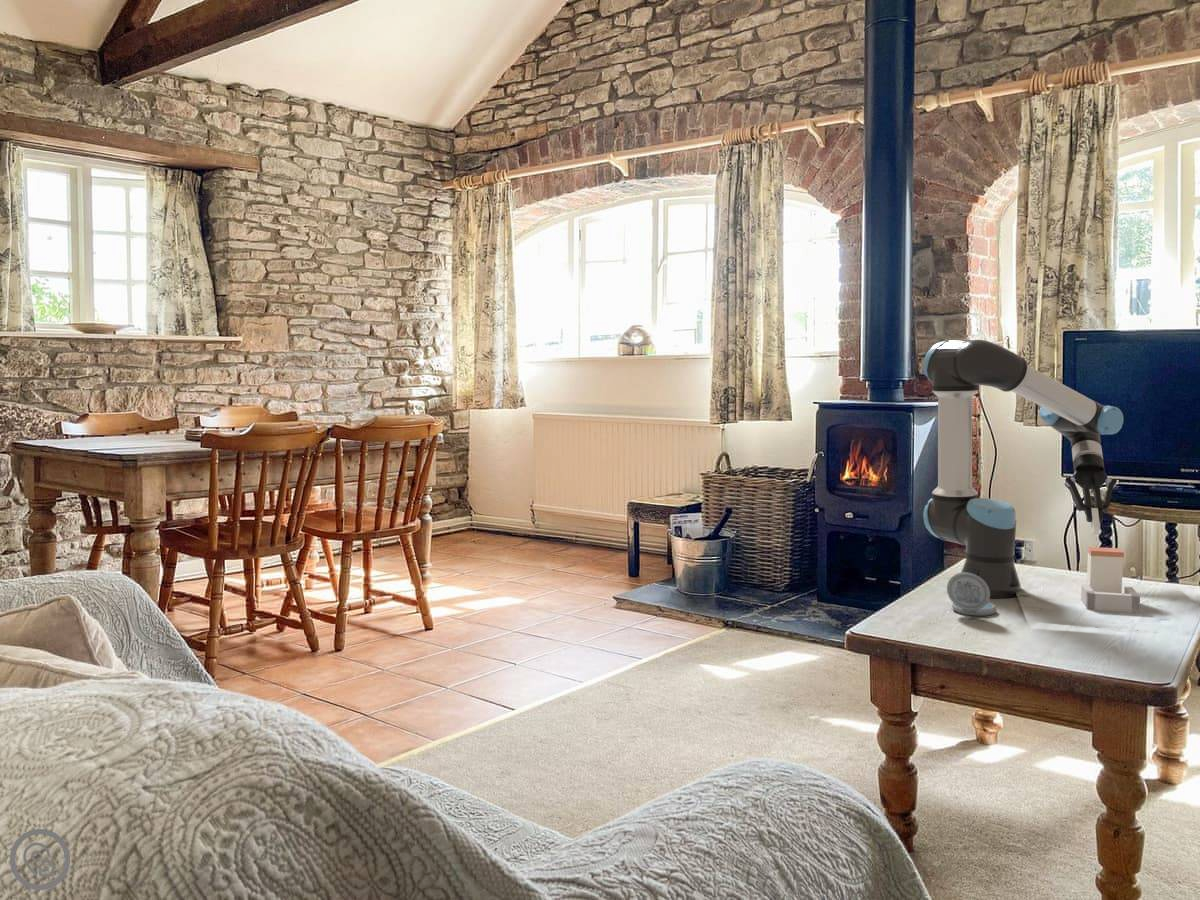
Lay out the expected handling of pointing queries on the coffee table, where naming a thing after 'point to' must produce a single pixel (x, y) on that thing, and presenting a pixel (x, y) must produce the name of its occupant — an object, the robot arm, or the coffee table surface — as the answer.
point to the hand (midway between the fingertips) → (1096, 531)
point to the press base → (1110, 600)
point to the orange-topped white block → (1105, 569)
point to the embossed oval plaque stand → (970, 595)
